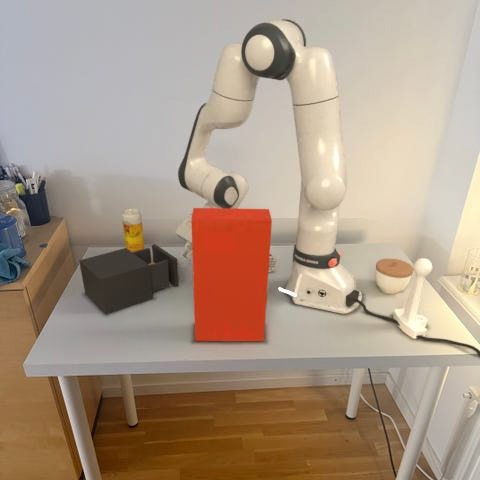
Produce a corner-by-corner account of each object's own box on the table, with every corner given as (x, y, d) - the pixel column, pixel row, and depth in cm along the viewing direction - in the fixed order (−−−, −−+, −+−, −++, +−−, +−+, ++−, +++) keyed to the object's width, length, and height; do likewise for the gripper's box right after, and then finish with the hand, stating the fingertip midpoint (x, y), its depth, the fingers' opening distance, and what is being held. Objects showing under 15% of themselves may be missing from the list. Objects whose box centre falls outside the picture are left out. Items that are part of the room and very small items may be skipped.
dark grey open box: (129, 280, 142) (126, 247, 136) (152, 298, 133) (149, 264, 127) (85, 293, 134) (79, 260, 128) (106, 314, 125) (100, 279, 119)
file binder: (196, 323, 123) (193, 207, 105) (261, 324, 123) (268, 208, 106) (195, 341, 116) (191, 220, 98) (263, 342, 117) (271, 221, 99)
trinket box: (413, 288, 142) (420, 260, 137) (398, 301, 135) (405, 273, 130) (381, 277, 148) (387, 250, 143) (365, 289, 141) (370, 261, 136)
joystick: (389, 316, 128) (405, 250, 117) (413, 313, 130) (431, 248, 119) (410, 339, 119) (429, 270, 108) (435, 336, 121) (457, 267, 110)
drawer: (168, 266, 148) (166, 240, 143) (190, 281, 140) (189, 254, 135) (119, 281, 139) (115, 254, 134) (139, 298, 131) (136, 270, 126)
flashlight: (241, 254, 159) (241, 240, 156) (255, 252, 161) (255, 237, 158) (261, 273, 148) (262, 258, 145) (276, 270, 150) (277, 255, 147)
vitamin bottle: (123, 256, 156) (117, 213, 147) (133, 249, 160) (128, 207, 152) (138, 259, 154) (134, 216, 146) (148, 252, 159) (144, 210, 150)
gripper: (186, 205, 147) (161, 241, 147) (225, 226, 134) (197, 265, 134) (198, 216, 152) (174, 250, 152) (236, 236, 139) (210, 274, 139)
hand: (185, 257), depth 143 cm, fingers closed
